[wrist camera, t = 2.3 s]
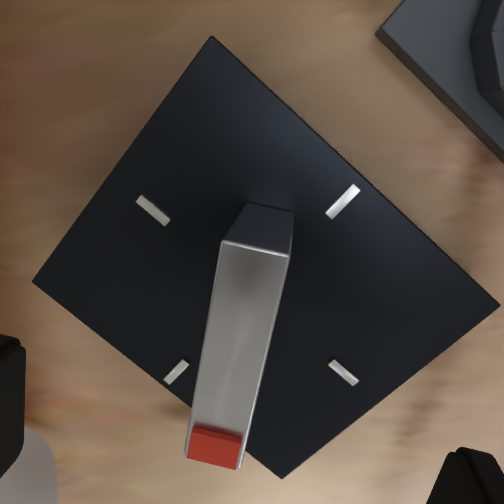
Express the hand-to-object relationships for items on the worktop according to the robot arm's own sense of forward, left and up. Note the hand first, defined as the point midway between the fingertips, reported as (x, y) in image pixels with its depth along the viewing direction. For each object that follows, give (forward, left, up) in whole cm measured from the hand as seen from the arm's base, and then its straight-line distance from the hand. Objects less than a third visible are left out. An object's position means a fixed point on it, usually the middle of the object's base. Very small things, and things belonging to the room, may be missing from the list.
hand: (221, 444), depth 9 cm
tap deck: (0, 0, -11) cm, 11 cm away
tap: (0, 0, -8) cm, 8 cm away
